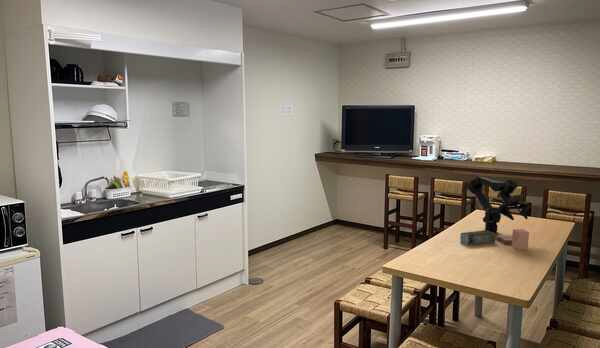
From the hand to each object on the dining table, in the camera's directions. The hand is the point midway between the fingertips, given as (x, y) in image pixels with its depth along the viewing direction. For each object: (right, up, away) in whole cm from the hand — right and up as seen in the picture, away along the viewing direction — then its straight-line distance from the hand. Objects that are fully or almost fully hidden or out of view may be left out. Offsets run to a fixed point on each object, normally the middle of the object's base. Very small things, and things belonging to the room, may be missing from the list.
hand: (520, 219), depth 258 cm
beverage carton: (-23, -14, +4) cm, 28 cm away
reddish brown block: (-4, -16, -6) cm, 17 cm away
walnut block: (-4, -14, +5) cm, 16 cm away
